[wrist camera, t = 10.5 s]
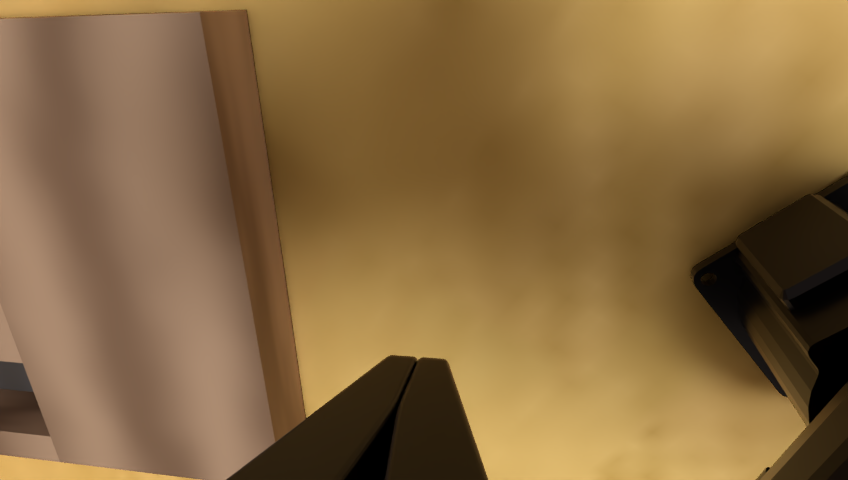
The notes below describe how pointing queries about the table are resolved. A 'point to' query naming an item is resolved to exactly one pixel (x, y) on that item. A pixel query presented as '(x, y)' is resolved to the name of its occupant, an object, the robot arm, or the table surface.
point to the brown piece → (139, 247)
